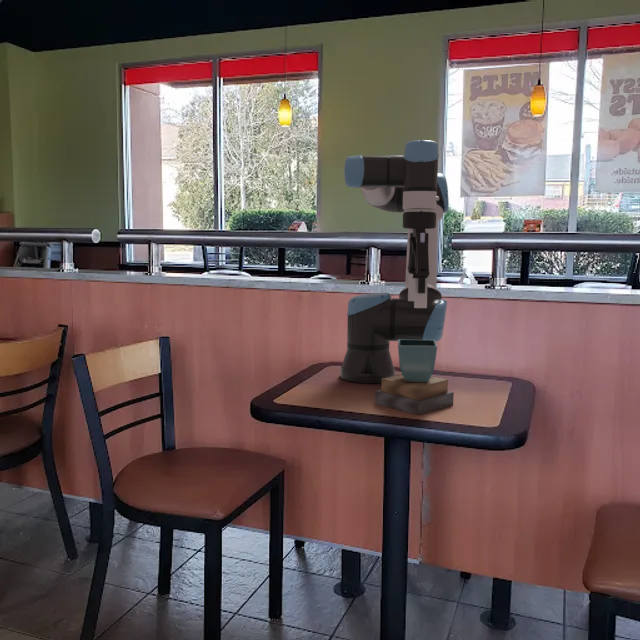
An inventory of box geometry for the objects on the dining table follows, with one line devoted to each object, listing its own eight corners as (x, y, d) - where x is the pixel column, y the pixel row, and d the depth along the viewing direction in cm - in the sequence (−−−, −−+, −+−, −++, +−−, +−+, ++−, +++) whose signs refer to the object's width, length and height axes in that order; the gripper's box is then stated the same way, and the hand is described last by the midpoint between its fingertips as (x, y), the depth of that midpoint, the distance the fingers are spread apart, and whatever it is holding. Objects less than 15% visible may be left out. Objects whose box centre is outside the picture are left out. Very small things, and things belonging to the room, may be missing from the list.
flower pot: (397, 375, 156) (397, 338, 155) (434, 376, 155) (435, 339, 154) (396, 383, 147) (397, 345, 146) (436, 385, 146) (437, 346, 145)
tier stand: (374, 403, 153) (375, 378, 153) (410, 394, 162) (410, 370, 161) (418, 415, 144) (419, 388, 143) (453, 404, 153) (454, 379, 152)
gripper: (444, 209, 134) (441, 311, 137) (429, 212, 159) (426, 298, 162) (408, 209, 135) (405, 310, 138) (398, 212, 159) (396, 298, 162)
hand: (416, 304), depth 150 cm, fingers open, 13 cm apart
